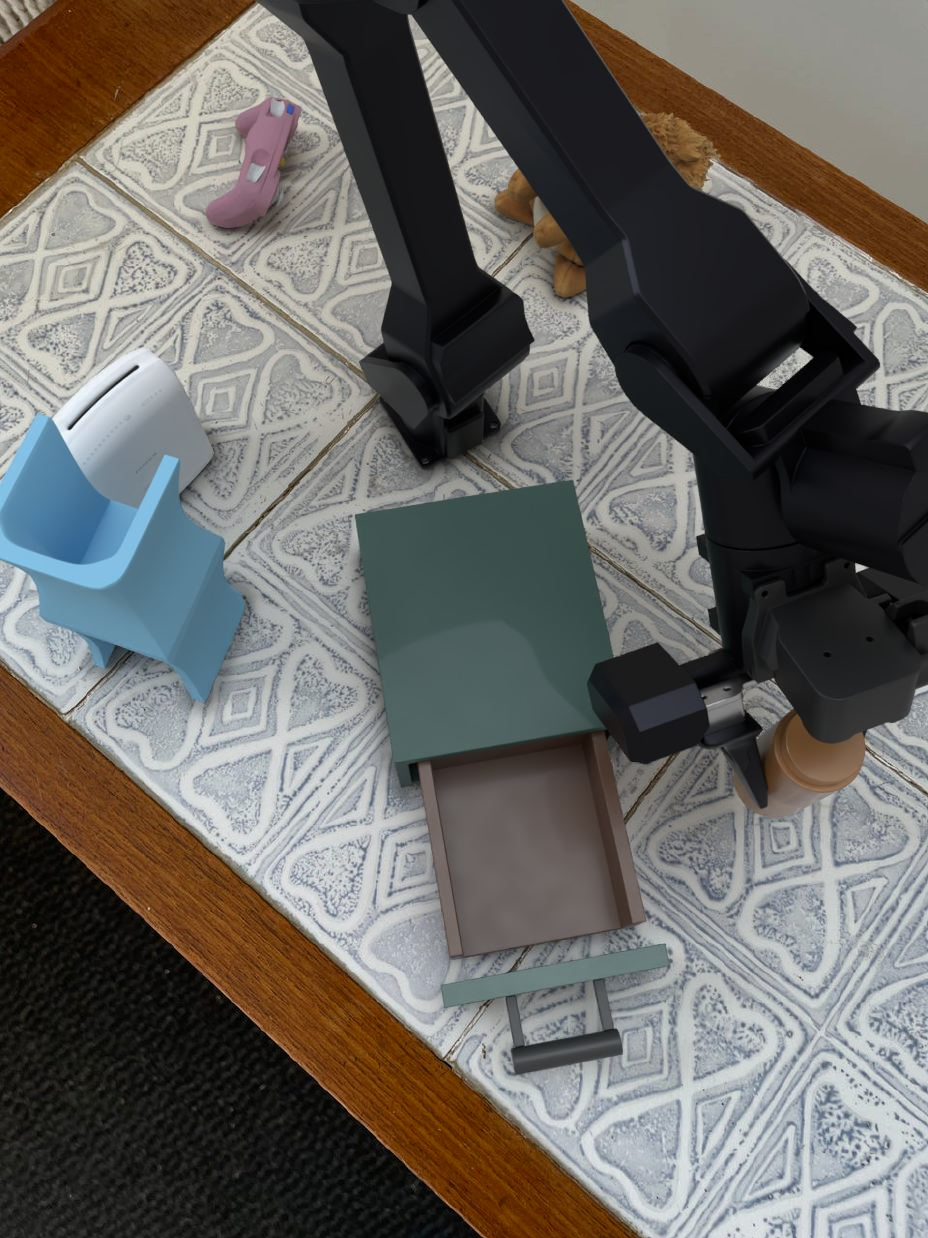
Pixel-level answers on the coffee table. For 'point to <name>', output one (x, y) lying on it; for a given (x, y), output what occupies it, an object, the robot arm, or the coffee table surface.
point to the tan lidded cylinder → (801, 767)
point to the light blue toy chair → (118, 562)
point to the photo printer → (133, 427)
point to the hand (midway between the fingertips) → (800, 789)
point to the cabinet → (483, 621)
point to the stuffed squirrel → (525, 206)
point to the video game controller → (258, 163)
